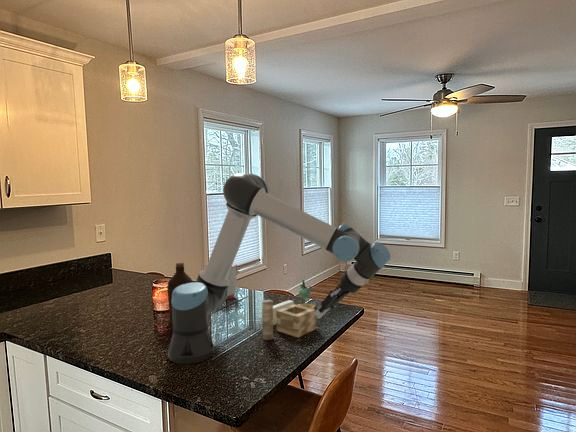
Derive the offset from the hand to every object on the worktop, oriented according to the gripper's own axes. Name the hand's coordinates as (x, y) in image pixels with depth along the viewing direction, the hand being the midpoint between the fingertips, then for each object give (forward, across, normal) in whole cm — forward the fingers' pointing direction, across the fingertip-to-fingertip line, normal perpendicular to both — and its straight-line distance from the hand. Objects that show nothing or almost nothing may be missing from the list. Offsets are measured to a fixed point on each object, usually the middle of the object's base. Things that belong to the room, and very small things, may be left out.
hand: (317, 315), depth 146 cm
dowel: (+15, -13, +4) cm, 20 cm away
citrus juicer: (+53, +10, +42) cm, 68 cm away
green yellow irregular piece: (+23, +21, +11) cm, 33 cm away
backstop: (+21, +3, +10) cm, 23 cm away
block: (+13, 0, +2) cm, 13 cm away
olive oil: (+43, -24, +32) cm, 59 cm away
